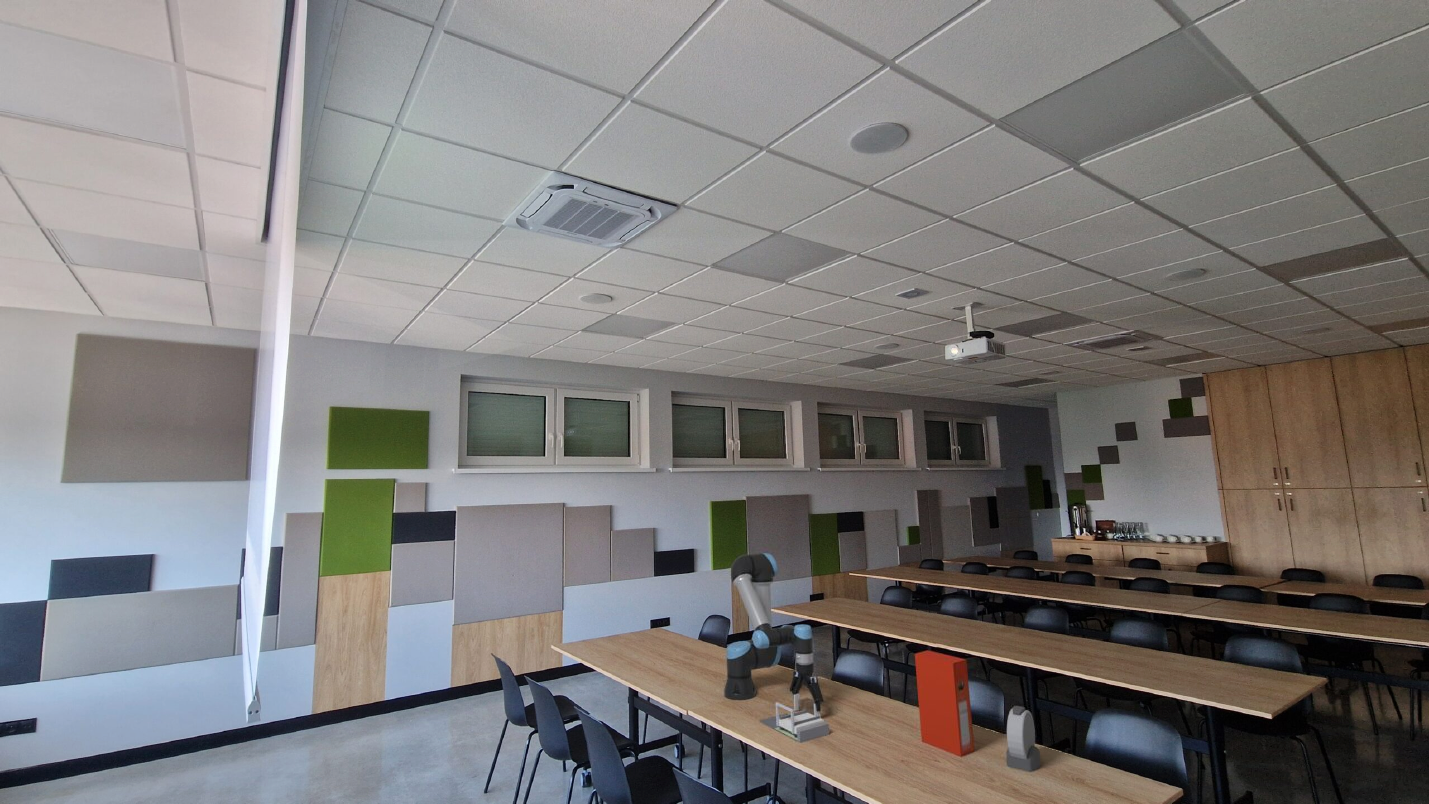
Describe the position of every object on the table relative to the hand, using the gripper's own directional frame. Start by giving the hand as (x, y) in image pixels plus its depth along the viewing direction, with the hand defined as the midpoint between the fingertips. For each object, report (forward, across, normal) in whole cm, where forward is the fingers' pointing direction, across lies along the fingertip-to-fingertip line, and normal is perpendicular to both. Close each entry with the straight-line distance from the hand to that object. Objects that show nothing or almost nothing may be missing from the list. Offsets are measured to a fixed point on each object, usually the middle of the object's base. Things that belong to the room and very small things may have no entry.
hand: (807, 714), depth 268 cm
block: (0, 0, 0) cm, 0 cm away
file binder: (+1, +56, +21) cm, 60 cm away
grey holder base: (0, +7, -14) cm, 16 cm away
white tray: (0, +13, -14) cm, 19 cm away
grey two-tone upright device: (+1, +80, +31) cm, 86 cm away
